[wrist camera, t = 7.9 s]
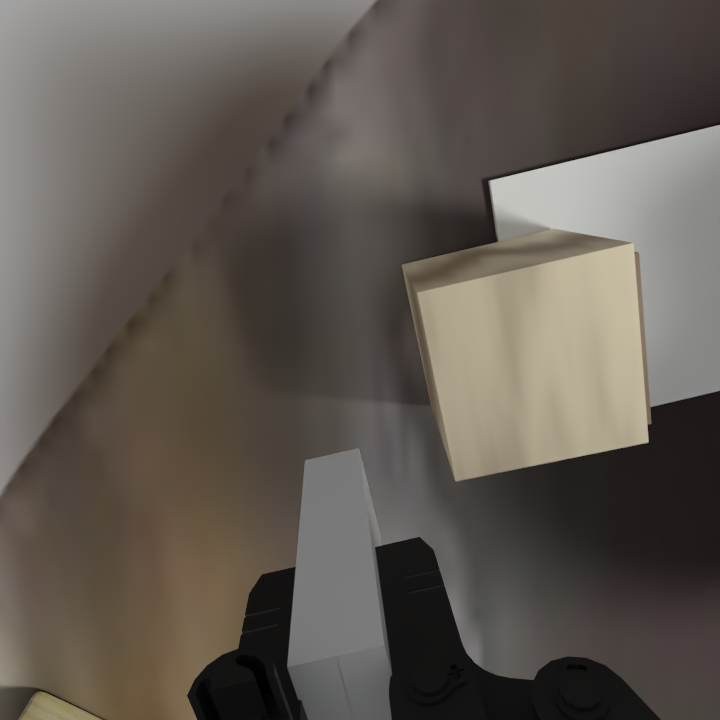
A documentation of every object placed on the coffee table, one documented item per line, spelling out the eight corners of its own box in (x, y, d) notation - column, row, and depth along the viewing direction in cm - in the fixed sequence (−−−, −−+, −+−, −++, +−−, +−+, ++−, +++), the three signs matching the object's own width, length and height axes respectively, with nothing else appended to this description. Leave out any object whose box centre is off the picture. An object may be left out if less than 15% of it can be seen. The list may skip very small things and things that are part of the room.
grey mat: (768, 113, 26) (773, 112, 25) (767, 376, 30) (771, 378, 29) (488, 180, 26) (489, 180, 25) (525, 433, 30) (527, 435, 30)
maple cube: (401, 264, 27) (562, 226, 26) (431, 405, 29) (579, 374, 28) (417, 292, 19) (645, 240, 18) (455, 481, 21) (658, 440, 21)
